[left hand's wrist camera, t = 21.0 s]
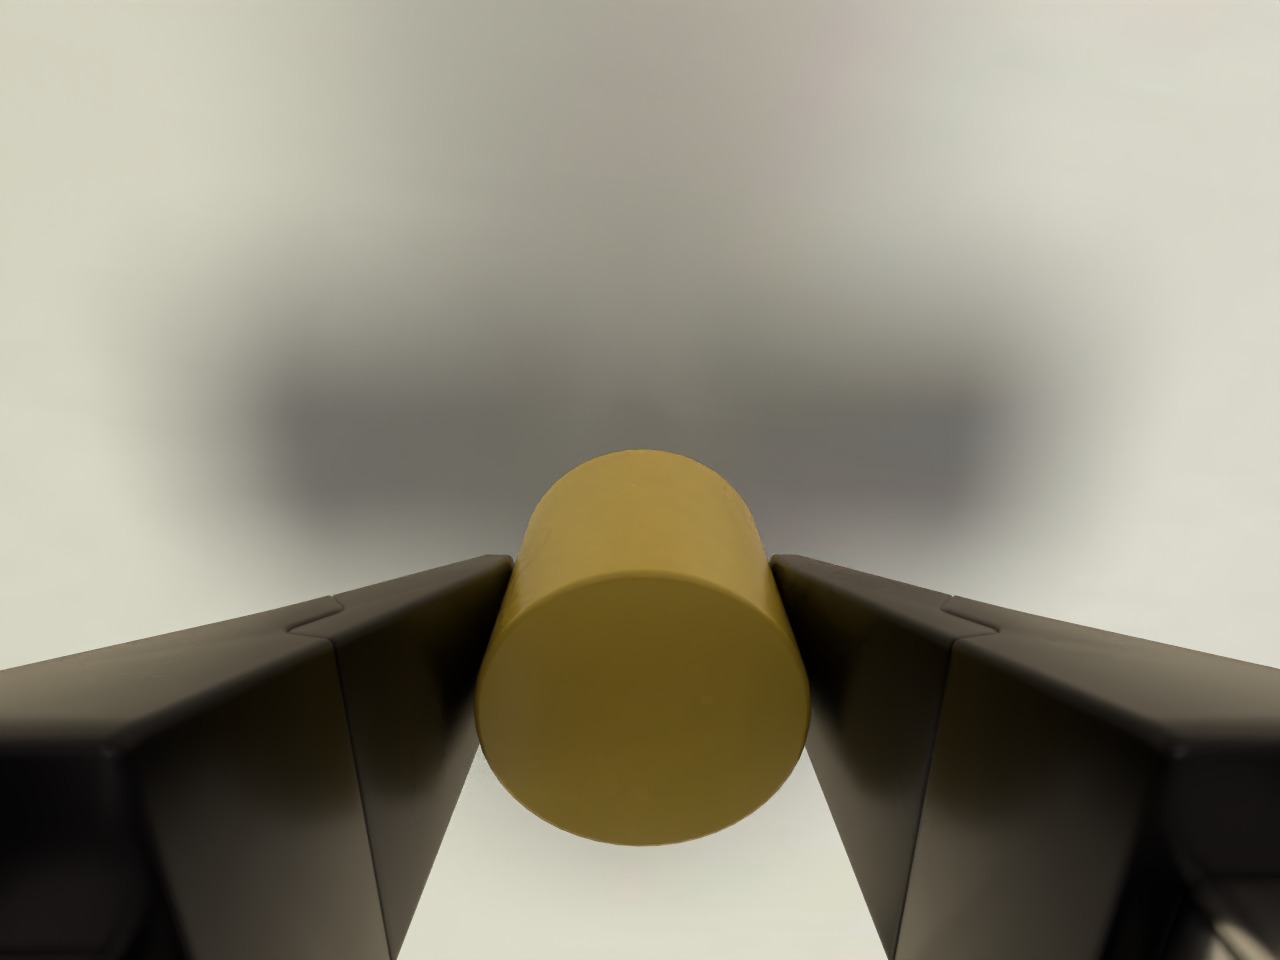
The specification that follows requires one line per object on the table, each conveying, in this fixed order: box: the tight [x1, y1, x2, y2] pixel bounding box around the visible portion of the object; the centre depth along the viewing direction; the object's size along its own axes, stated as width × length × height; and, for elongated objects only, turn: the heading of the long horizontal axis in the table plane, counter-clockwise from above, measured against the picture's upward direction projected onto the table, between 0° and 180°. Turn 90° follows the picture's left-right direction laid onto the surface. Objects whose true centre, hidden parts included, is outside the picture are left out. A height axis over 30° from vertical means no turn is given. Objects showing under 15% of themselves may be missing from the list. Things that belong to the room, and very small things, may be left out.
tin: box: [474, 449, 812, 846], centre depth 10 cm, size 4×4×4 cm
